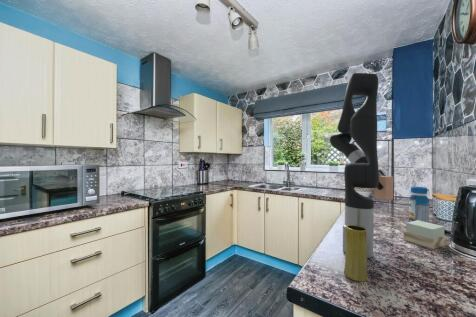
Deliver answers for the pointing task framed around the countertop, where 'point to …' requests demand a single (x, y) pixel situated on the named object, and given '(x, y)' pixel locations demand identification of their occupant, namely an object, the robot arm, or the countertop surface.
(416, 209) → the beverage bottle
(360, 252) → the vase
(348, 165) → the robot arm
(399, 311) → the countertop surface
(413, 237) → the tower base
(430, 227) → the tower top
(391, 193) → the square block
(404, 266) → the countertop surface
